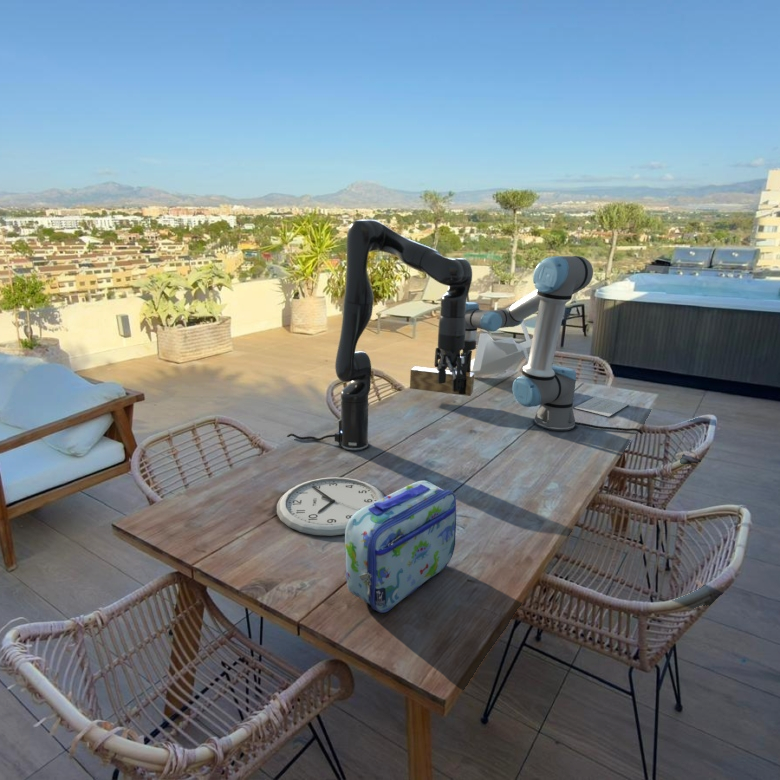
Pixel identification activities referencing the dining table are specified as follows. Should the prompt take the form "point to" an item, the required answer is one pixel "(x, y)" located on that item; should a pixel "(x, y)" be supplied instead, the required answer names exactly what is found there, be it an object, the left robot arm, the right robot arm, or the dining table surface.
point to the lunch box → (399, 543)
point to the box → (429, 381)
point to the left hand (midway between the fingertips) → (448, 387)
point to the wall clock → (325, 504)
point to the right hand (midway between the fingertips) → (463, 391)
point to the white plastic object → (499, 353)
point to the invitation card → (601, 406)
